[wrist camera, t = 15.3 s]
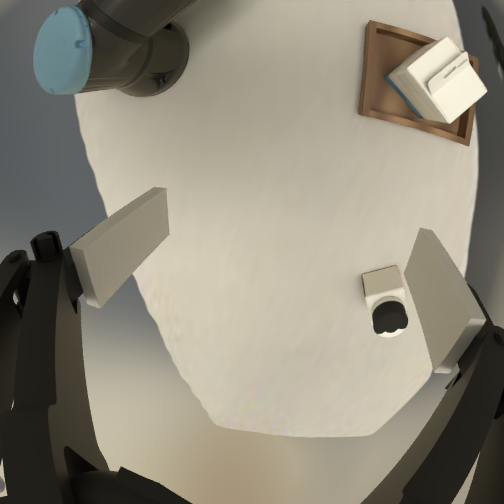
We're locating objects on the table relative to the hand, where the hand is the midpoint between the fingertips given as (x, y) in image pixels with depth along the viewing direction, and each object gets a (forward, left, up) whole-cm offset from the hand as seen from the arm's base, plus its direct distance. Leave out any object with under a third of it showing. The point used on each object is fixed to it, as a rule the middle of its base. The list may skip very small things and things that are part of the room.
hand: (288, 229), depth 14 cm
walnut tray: (+16, +13, -33) cm, 39 cm away
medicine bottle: (+18, -24, -33) cm, 45 cm away
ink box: (+16, +13, -32) cm, 38 cm away
